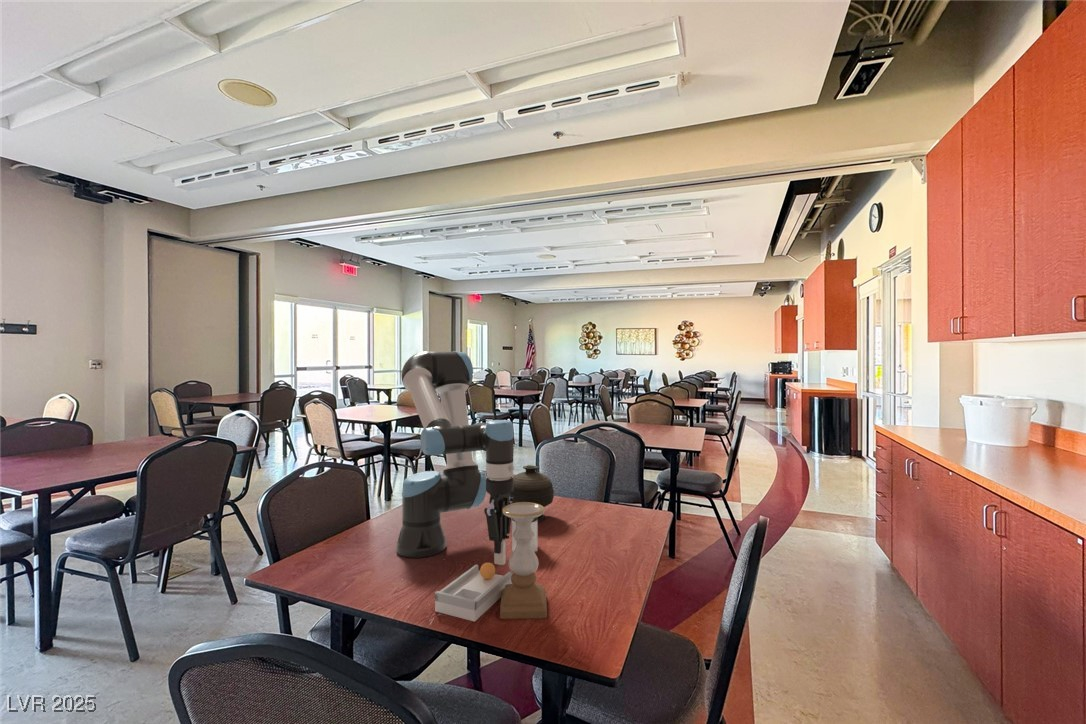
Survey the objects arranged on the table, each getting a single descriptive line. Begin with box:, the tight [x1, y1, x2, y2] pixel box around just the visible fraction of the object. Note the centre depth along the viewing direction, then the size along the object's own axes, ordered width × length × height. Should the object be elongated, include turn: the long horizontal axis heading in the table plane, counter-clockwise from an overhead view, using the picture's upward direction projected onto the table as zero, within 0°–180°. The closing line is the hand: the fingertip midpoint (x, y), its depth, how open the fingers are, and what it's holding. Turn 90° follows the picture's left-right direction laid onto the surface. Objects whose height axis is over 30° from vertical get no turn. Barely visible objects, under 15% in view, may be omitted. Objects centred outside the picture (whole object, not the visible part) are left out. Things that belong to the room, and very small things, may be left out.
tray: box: [434, 564, 513, 622], centre depth 118 cm, size 11×18×4 cm, turn 156°
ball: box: [479, 562, 496, 579], centre depth 124 cm, size 4×4×4 cm
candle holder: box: [499, 502, 548, 620], centre depth 115 cm, size 11×11×24 cm
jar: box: [511, 517, 539, 553], centre depth 150 cm, size 9×8×12 cm
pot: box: [510, 464, 555, 523], centre depth 179 cm, size 18×18×20 cm
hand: (499, 563), depth 130 cm, fingers closed
